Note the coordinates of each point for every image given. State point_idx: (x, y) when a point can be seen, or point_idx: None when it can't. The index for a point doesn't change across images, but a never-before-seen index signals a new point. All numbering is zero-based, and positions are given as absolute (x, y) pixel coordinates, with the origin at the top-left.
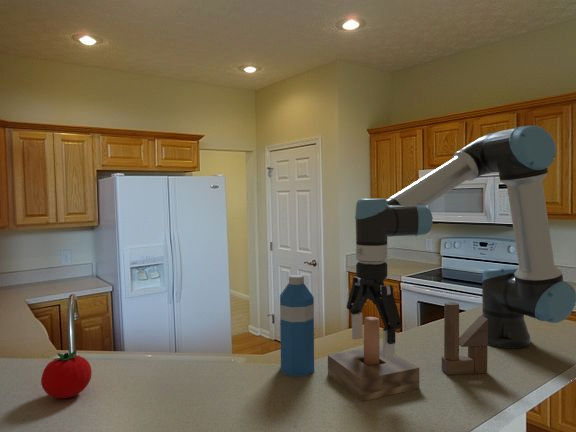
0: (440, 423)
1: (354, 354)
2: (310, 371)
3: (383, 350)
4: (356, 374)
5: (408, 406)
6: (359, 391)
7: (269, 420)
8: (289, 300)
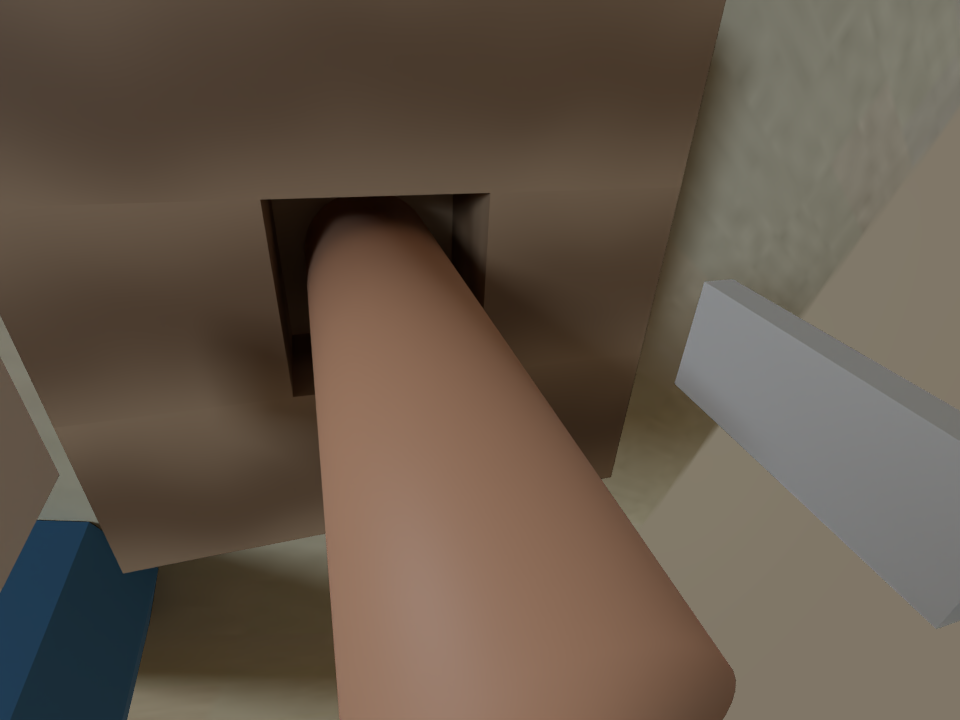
0: (881, 175)
1: (164, 379)
2: None
3: (722, 421)
4: None
5: (714, 216)
6: None
7: None
8: None
